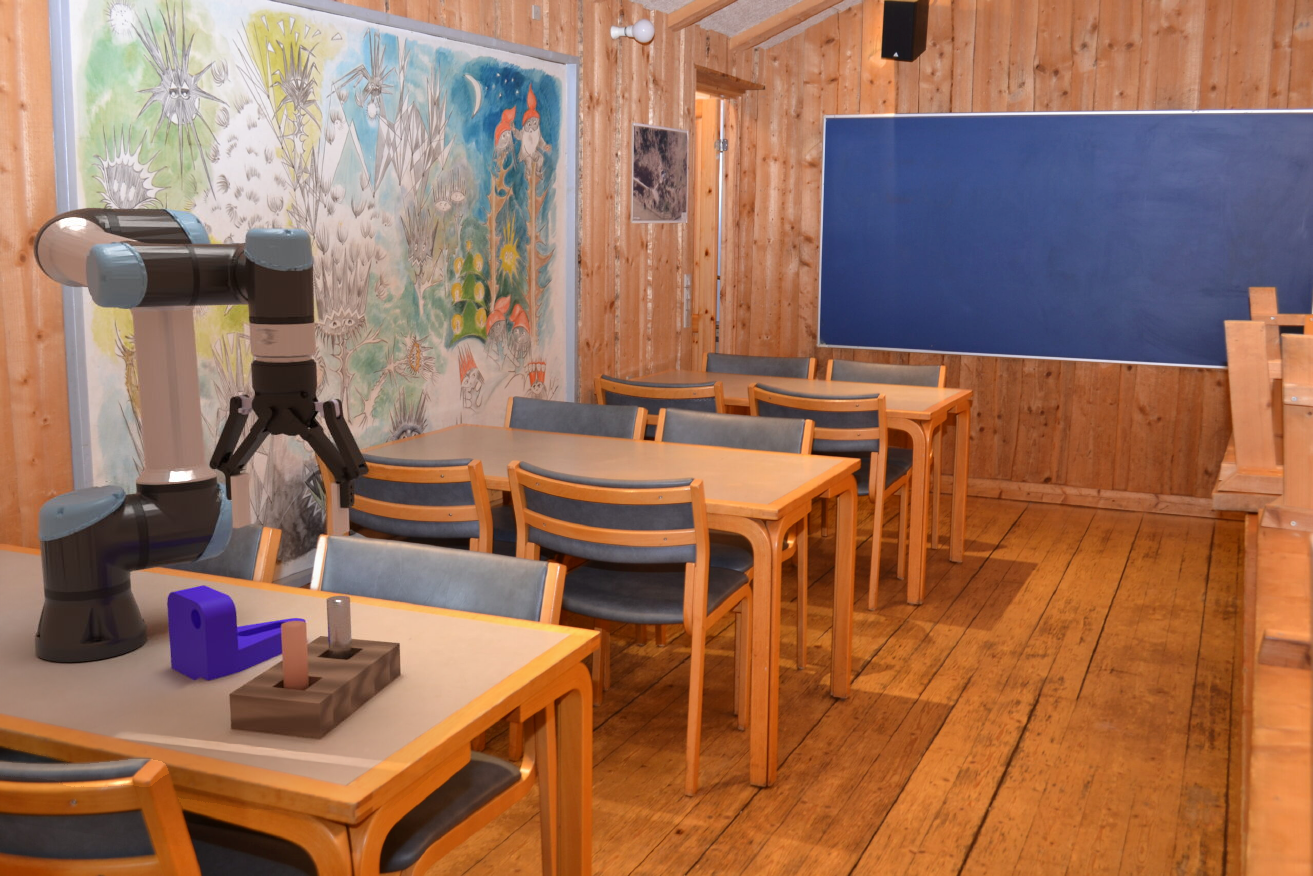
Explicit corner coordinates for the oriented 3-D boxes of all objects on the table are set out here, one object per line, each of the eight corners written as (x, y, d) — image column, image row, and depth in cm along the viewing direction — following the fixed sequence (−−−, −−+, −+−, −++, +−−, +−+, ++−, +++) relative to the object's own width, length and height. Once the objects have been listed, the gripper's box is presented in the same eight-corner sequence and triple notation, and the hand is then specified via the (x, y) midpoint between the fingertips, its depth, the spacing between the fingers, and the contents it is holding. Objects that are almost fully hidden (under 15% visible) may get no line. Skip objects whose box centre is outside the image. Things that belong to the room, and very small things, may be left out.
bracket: (208, 689, 158) (203, 605, 156) (171, 669, 166) (166, 589, 164) (325, 655, 172) (321, 578, 170) (285, 638, 179) (282, 564, 177)
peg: (280, 719, 145) (276, 627, 144) (293, 710, 148) (289, 620, 146) (302, 722, 145) (298, 629, 143) (314, 713, 148) (310, 621, 146)
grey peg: (326, 687, 156) (322, 601, 154) (337, 679, 159) (333, 594, 157) (346, 689, 155) (343, 603, 153) (357, 681, 158) (353, 596, 156)
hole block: (320, 746, 140) (318, 703, 139) (231, 736, 143) (229, 694, 142) (400, 681, 161) (399, 643, 160) (322, 673, 164) (320, 636, 163)
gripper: (173, 357, 139) (183, 529, 143) (363, 365, 134) (369, 544, 137) (210, 351, 147) (219, 515, 150) (393, 358, 141) (397, 529, 144)
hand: (291, 529), depth 144 cm, fingers open, 13 cm apart
